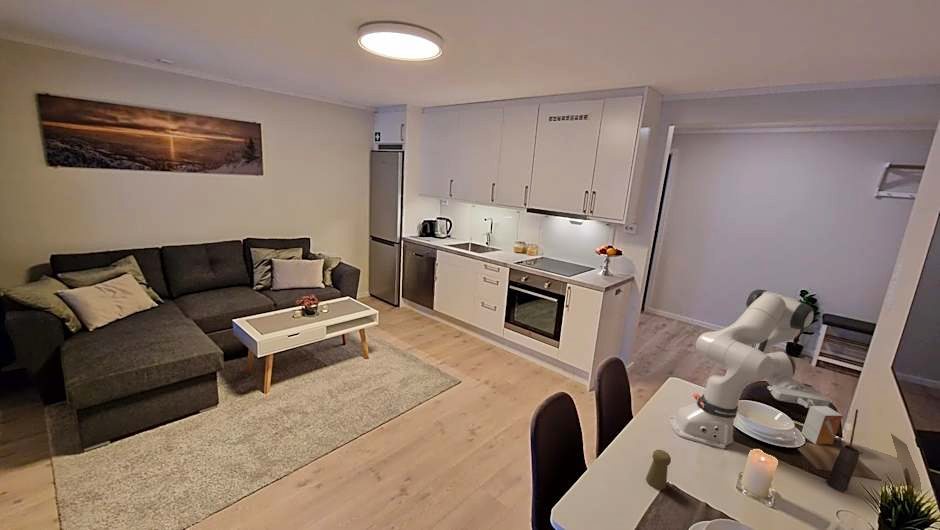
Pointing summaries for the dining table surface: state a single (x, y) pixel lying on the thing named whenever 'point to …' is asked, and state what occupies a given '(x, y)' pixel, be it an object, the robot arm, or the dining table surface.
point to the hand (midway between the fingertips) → (811, 406)
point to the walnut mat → (832, 460)
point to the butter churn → (844, 465)
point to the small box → (821, 424)
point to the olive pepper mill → (658, 470)
